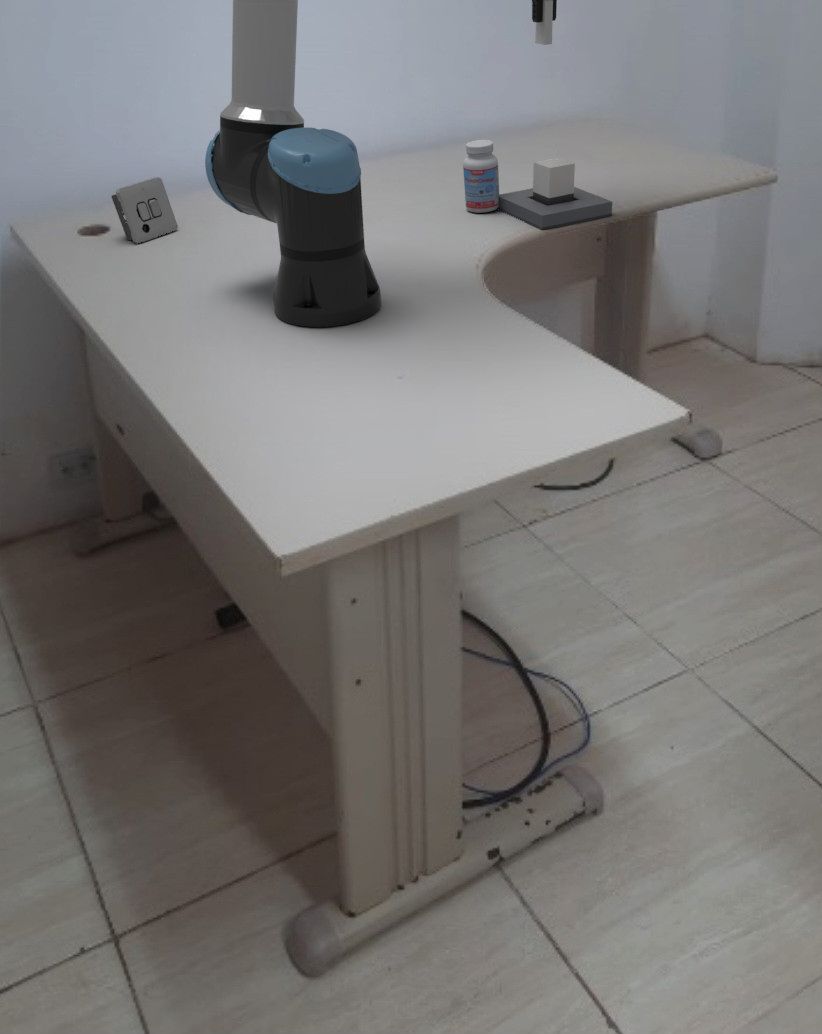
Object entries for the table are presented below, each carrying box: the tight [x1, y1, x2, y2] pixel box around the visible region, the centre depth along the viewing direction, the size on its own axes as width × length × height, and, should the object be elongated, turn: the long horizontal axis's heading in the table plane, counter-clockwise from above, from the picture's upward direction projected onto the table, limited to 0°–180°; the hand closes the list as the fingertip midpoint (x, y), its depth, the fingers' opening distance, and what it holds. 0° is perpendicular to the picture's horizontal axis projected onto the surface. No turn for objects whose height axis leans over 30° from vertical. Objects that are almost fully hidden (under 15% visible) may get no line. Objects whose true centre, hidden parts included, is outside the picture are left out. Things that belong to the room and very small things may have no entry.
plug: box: [532, 157, 576, 206], centre depth 182 cm, size 5×5×8 cm
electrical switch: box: [111, 176, 179, 244], centre depth 181 cm, size 9×5×9 cm, turn 141°
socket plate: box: [496, 186, 613, 231], centre depth 183 cm, size 15×14×2 cm
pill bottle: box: [462, 139, 500, 214], centre depth 184 cm, size 6×6×11 cm
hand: (543, 43), depth 175 cm, fingers closed
